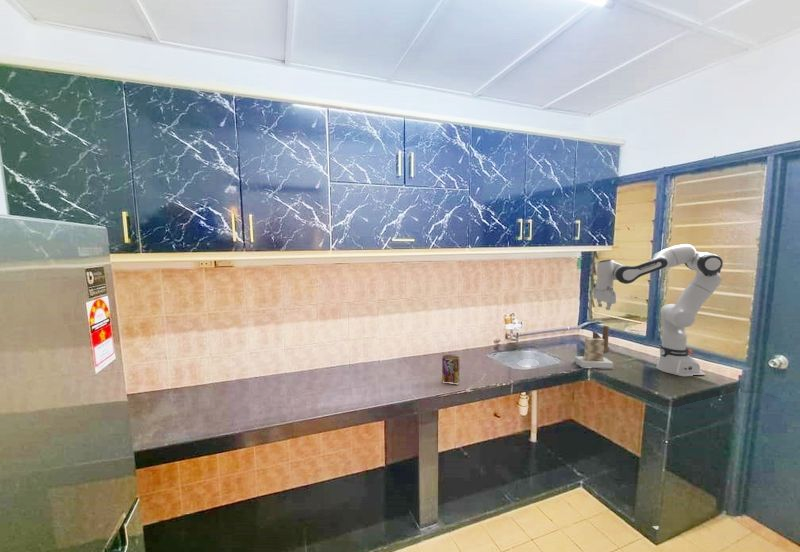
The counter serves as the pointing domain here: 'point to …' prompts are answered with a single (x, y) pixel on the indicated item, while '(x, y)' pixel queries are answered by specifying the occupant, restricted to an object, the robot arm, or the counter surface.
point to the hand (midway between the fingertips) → (603, 308)
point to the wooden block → (603, 337)
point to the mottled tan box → (594, 349)
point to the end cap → (594, 363)
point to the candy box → (450, 368)
